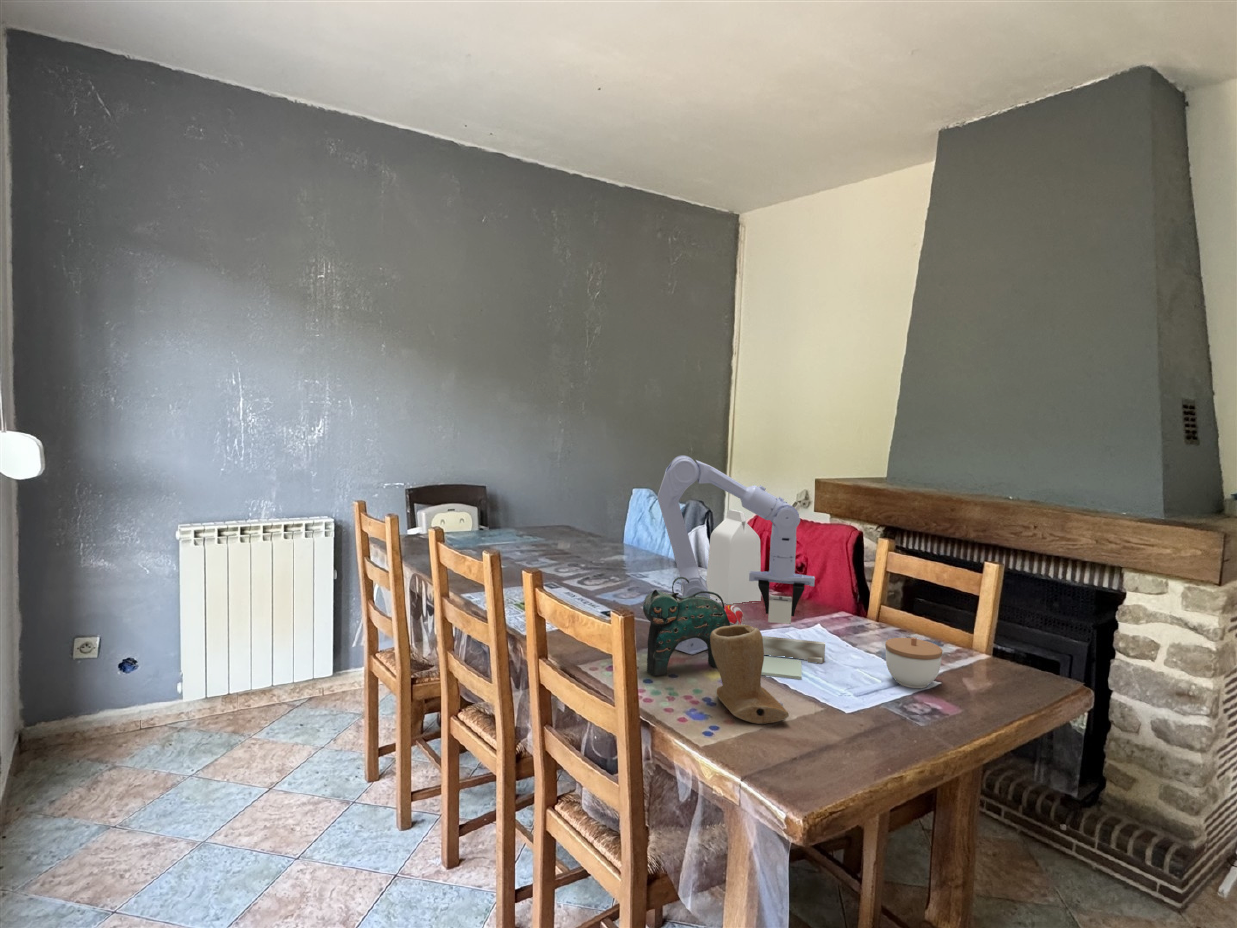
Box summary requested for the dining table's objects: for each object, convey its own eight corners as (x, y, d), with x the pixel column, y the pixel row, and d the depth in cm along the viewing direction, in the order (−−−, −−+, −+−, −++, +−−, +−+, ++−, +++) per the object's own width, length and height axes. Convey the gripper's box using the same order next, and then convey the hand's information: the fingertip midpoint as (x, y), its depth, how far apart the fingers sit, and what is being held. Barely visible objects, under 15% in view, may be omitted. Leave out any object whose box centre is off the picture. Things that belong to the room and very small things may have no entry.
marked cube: (790, 618, 163) (791, 596, 162) (790, 624, 158) (791, 602, 157) (768, 616, 164) (769, 594, 163) (768, 622, 159) (769, 600, 159)
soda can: (746, 630, 172) (744, 648, 161) (718, 631, 174) (713, 649, 163) (743, 602, 172) (740, 618, 160) (715, 603, 174) (709, 619, 162)
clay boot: (700, 693, 134) (703, 617, 133) (760, 692, 136) (763, 616, 135) (723, 729, 119) (726, 643, 118) (789, 726, 121) (793, 642, 120)
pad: (801, 662, 153) (801, 660, 153) (801, 679, 143) (801, 676, 143) (754, 657, 155) (754, 655, 155) (751, 673, 146) (751, 670, 145)
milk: (705, 594, 209) (708, 508, 207) (737, 591, 214) (740, 507, 212) (727, 605, 198) (731, 514, 197) (760, 601, 203) (764, 512, 201)
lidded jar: (872, 676, 146) (874, 632, 146) (912, 670, 150) (915, 627, 149) (910, 695, 136) (912, 648, 136) (952, 689, 140) (955, 643, 139)
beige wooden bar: (823, 658, 156) (824, 640, 156) (824, 664, 152) (825, 646, 152) (733, 648, 161) (734, 631, 161) (732, 653, 157) (732, 636, 157)
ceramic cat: (648, 680, 141) (651, 582, 139) (635, 668, 147) (638, 574, 145) (733, 669, 148) (737, 576, 147) (718, 658, 154) (721, 569, 153)
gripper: (814, 554, 162) (811, 612, 163) (751, 550, 165) (748, 606, 166) (816, 560, 155) (813, 620, 156) (749, 555, 158) (747, 614, 159)
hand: (779, 613), depth 161 cm, fingers closed on marked cube, 5 cm apart
